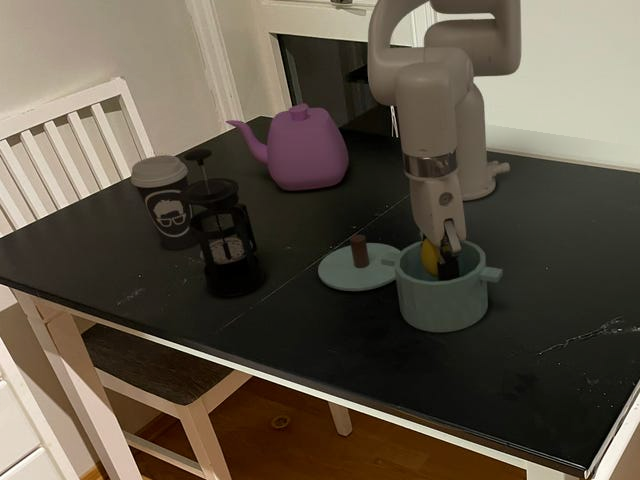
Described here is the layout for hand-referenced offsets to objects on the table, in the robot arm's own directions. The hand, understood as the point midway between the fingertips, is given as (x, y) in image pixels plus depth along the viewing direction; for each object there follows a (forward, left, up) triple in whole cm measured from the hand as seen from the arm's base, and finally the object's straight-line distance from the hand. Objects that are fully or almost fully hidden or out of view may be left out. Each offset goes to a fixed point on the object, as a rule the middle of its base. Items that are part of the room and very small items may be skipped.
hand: (441, 272), depth 112 cm
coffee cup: (+35, -44, -6) cm, 57 cm away
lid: (+8, -17, -6) cm, 20 cm away
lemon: (0, 0, -1) cm, 1 cm away
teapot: (+7, -59, -6) cm, 60 cm away
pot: (0, 0, -6) cm, 6 cm away
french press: (+28, -24, -6) cm, 37 cm away
